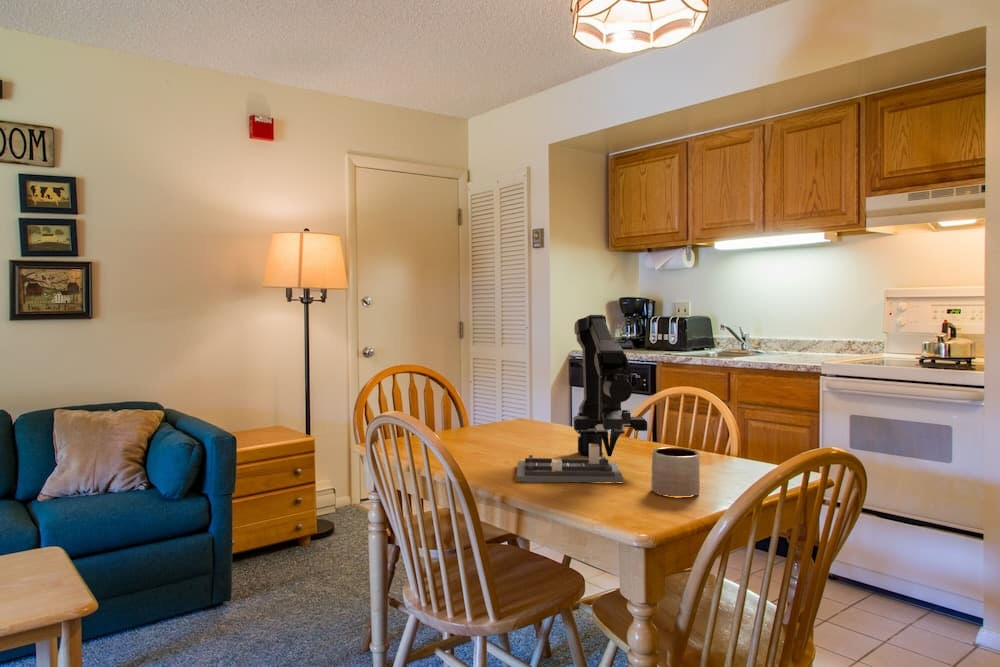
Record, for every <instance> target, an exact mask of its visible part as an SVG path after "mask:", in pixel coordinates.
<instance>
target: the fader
mask: <svg viewBox="0 0 1000 667" xmlns="http://www.w3.org/2000/svg"><path fill="white" fill-rule="evenodd" d="M599 448H600V447H599V445H598V444H589V455H588V459H589V464H599V459H600V455H599Z"/></svg>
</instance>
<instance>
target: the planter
mask: <svg viewBox="0 0 1000 667" xmlns="http://www.w3.org/2000/svg"><path fill="white" fill-rule="evenodd" d="M700 458H701V454H700V452H699V451H697V450H694V449H692V448H686V447H680V446H679V447H678V446H667V447H666V446H665V447H656V448H654V449H652V451H651V477H650V478H651V481H650V482H651V484H650V485H651V488H650V489H651V491H652V492H653V491H654V492H653V493H655V494H656V493H658V494H661V495H668V496H691V495H696V494H697V495H699V494H700V489H701V488H700V487H701V485H700V484H701V483H700V479H701V477H700V476H701V475H700V473H701V470H700V469H701V468H700V466H701V463H700V462H701V461H700V460H701V459H700ZM698 493H699V494H698ZM658 494H657V495H658ZM697 495H696V496H697Z"/></svg>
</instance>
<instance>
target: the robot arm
mask: <svg viewBox="0 0 1000 667" xmlns="http://www.w3.org/2000/svg"><path fill="white" fill-rule="evenodd" d="M573 332H574V335H575V336H576V341H577V343H578V345H579V346H580V348H581V349H582V373H583V374H582V376H583V400H582V402H581V403H580V405H579V406H578V413H577V415H575V416H574V417H573V418H572V427H573V430H574V431H575V433H577V434H578V436H577V452H578V453H579V456H589V444H598V445H599V447H600V448H599V456H604V454H603V453H604V452H603V445H604V449H605V453H606V455H607V458H609V457H612V456H613V453H614V449H615V446H616V443H617V442H618V440H619V438H620V437H621V435H622V434H623V435H624V434H625V433H626V431H625V429H626V428H632V429H633V430H634V431H636V432H639V431H640V432H646V431H648V420H646V419H645V418H644V417H643V416H631V410H630V409H622V403H624V402H626V401H628V400H629V399H630V398H631V396H632V394H633V388H632V386H631V383H630V382H629V381H627V380H626V379H625V377H629V376H630V372H631V367H630V363H629V359H628V357H627V354H626V352H624V349H623V348H622V346H621V345H620V344H618V343H616V342H614V340H613V338H612V335H611V333H610V330H609V328H608V324H607V318H606V315H603V314H589V315H586V316H585V317H582V318H579V319H577V320H576V321H575V323H574V331H573ZM609 431H610V435H609Z"/></svg>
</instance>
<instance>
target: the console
mask: <svg viewBox="0 0 1000 667" xmlns="http://www.w3.org/2000/svg"><path fill="white" fill-rule="evenodd" d="M516 467H517V468H516V482H517V481H527V482H526V483H543V482H612V483H613V482H615V483H616V482H617V483H618V482H623V483H624V476H623V474H622V472H621V471H620V468H619V466H618V465H617V463H616V462H615V461H613V462H612V461H609V459H608V458H606V456H605V455H600V458H599V464H589V458H561V457H559V458H556V457H555V458H554V457H547V458H545V457H544V458H543V457H542V458H541V457H536V458H535V457H534V455H533V454H532V455H531V454H529V455H528V457H525V458H524V460H517V466H516ZM612 483H611V484H612Z"/></svg>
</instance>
